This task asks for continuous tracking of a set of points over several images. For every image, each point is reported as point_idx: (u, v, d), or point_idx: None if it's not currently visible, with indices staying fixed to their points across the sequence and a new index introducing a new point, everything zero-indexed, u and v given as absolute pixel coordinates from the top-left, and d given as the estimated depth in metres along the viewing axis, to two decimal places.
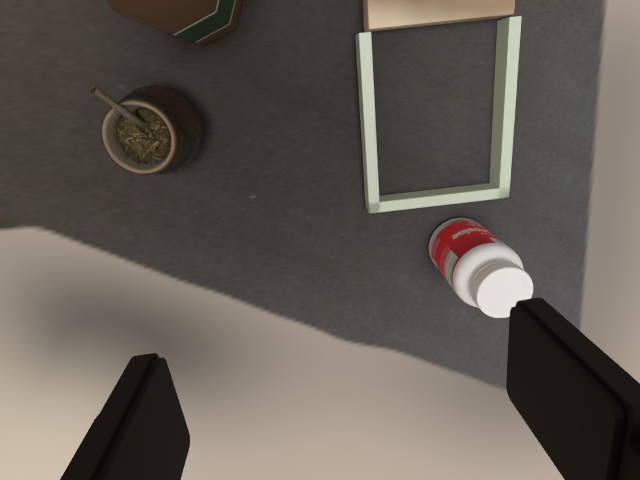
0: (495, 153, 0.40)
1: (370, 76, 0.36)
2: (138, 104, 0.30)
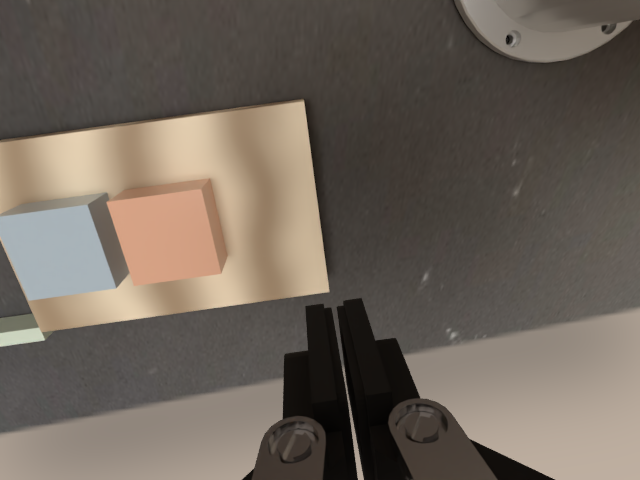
0: None
1: None
2: None
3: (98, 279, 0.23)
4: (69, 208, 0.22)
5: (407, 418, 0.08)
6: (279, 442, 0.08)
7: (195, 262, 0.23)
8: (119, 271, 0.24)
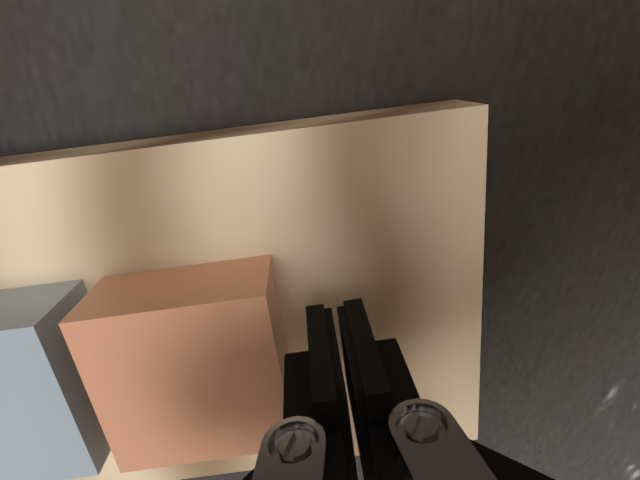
0: None
1: None
2: None
3: (62, 461, 0.12)
4: None
5: (407, 418, 0.08)
6: (279, 442, 0.08)
7: (244, 431, 0.12)
8: None
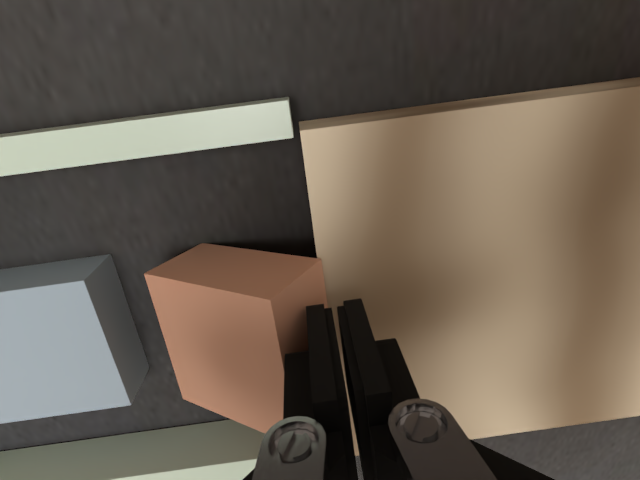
0: (53, 461, 0.17)
1: (168, 145, 0.11)
2: None
3: None
4: None
5: (407, 418, 0.08)
6: (279, 442, 0.08)
7: (259, 410, 0.13)
8: None
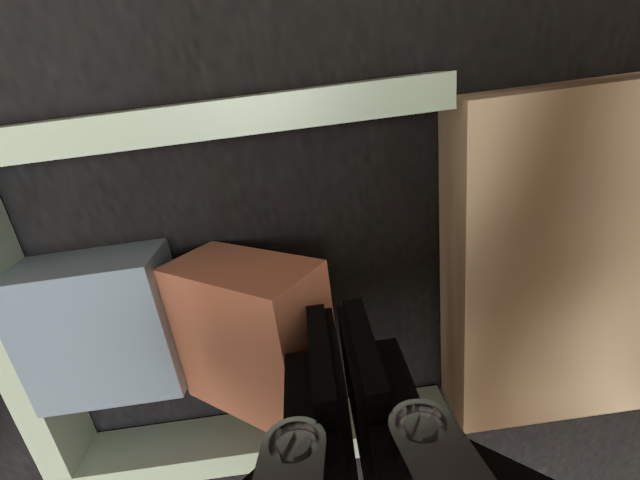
0: (165, 439, 0.17)
1: (334, 115, 0.12)
2: None
3: None
4: None
5: (407, 418, 0.08)
6: (280, 442, 0.08)
7: (262, 410, 0.13)
8: None
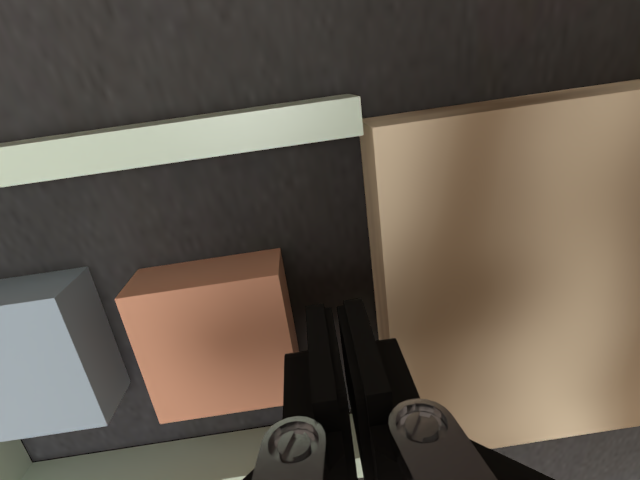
0: (98, 470, 0.16)
1: (236, 144, 0.11)
2: None
3: None
4: None
5: (407, 418, 0.08)
6: (279, 442, 0.08)
7: (261, 387, 0.14)
8: None
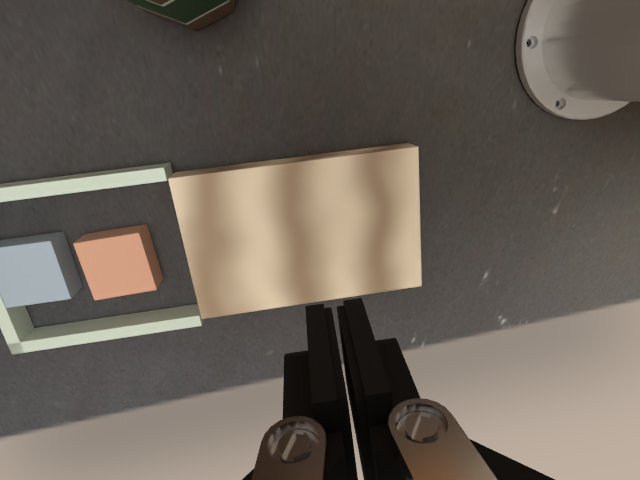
0: (66, 328, 0.36)
1: (119, 183, 0.31)
2: None
3: None
4: None
5: (407, 418, 0.08)
6: (279, 442, 0.08)
7: (137, 282, 0.34)
8: None
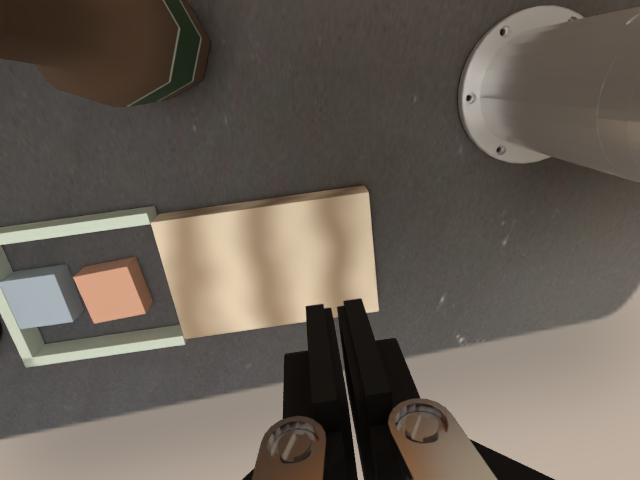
0: (71, 345, 0.42)
1: (110, 227, 0.36)
2: None
3: None
4: None
5: (407, 418, 0.08)
6: (279, 442, 0.08)
7: (129, 308, 0.39)
8: None
